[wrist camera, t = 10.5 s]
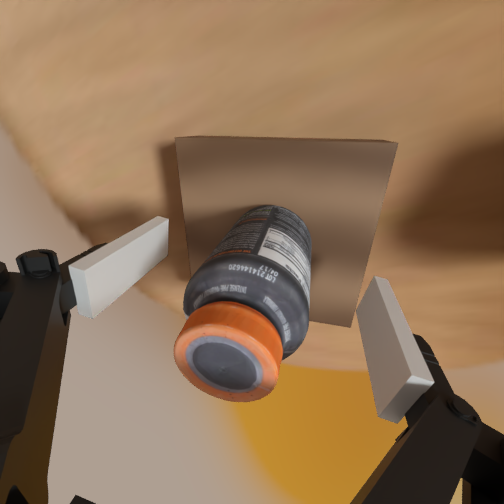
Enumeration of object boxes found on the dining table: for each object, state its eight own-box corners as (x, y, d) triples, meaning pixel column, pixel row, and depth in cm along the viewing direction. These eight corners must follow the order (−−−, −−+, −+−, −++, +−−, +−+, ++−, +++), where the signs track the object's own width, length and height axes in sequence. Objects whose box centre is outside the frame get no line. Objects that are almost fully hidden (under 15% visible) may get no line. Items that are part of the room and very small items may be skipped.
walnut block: (198, 135, 20) (174, 137, 17) (382, 139, 17) (398, 142, 14) (210, 278, 27) (194, 301, 23) (345, 298, 24) (350, 327, 20)
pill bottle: (236, 271, 21) (162, 404, 11) (230, 201, 18) (126, 293, 8) (309, 278, 19) (301, 437, 9) (315, 204, 17) (313, 316, 7)
